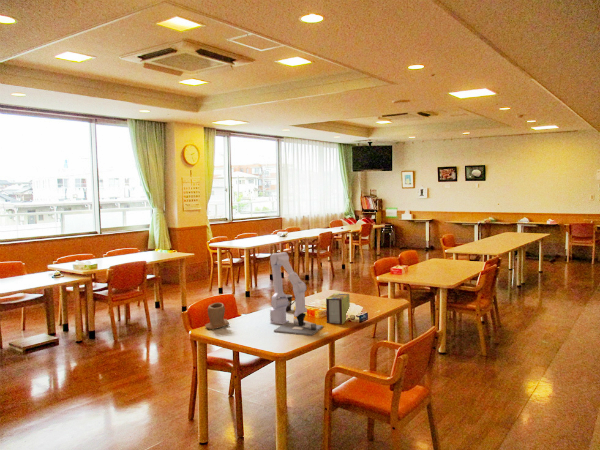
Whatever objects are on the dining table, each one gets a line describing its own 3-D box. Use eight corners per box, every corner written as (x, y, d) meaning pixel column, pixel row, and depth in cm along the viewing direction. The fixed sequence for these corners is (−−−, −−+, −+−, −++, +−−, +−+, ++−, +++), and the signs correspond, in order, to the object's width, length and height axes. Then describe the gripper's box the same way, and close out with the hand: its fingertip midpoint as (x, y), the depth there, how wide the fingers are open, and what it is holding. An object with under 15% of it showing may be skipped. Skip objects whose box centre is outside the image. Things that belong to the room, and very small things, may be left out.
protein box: (350, 318, 320) (349, 294, 318) (342, 324, 306) (341, 299, 304) (334, 316, 324) (334, 293, 323) (326, 323, 310) (325, 298, 309)
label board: (273, 332, 294) (273, 330, 294) (286, 323, 310) (286, 322, 310) (312, 335, 284) (311, 333, 284) (322, 327, 301) (322, 325, 301)
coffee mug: (280, 312, 340) (280, 297, 339) (279, 309, 348) (278, 294, 347) (297, 311, 341) (297, 296, 340) (296, 308, 350) (295, 293, 349)
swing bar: (317, 329, 292) (317, 324, 292) (313, 330, 290) (313, 325, 290) (297, 323, 306) (297, 318, 306) (293, 324, 304) (293, 319, 304)
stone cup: (212, 331, 298) (211, 307, 297) (202, 327, 307) (201, 303, 306) (234, 326, 307) (233, 302, 306) (224, 323, 317) (223, 299, 315)
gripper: (301, 306, 288) (302, 329, 289) (311, 300, 302) (311, 323, 302) (290, 305, 291) (291, 328, 292) (300, 300, 304) (301, 322, 305)
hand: (300, 325), depth 297 cm, fingers closed
